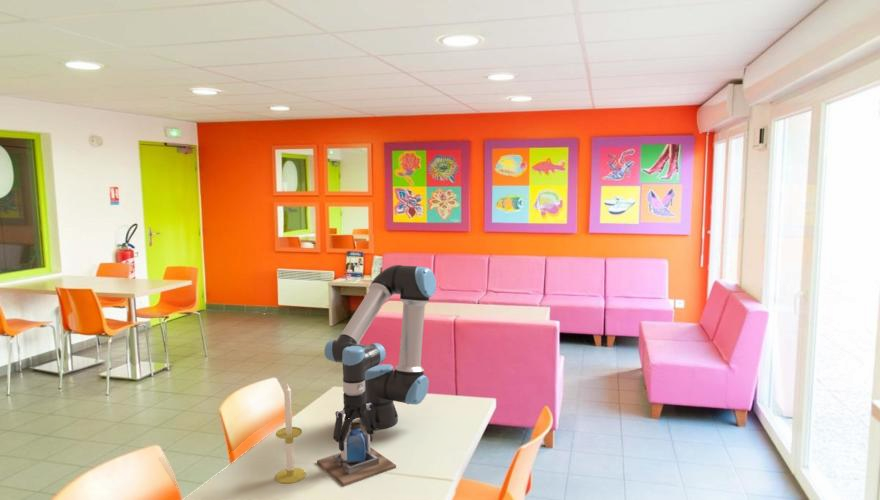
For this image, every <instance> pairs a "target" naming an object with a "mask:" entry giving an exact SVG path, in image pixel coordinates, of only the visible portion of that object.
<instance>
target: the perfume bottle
mask: <svg viewBox="0 0 880 500" xmlns="http://www.w3.org/2000/svg"><path fill="white" fill-rule="evenodd" d="M349 429H350V431H348V432H349V433H347V434H348V435H346V442H347V462H357V461H365V435H364V432H363V431H362V430H361V429H362V427H361V422H356V421H355V422H352V423H351V424H350V427H349Z"/></svg>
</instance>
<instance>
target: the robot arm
mask: <svg viewBox="0 0 880 500" xmlns="http://www.w3.org/2000/svg"><path fill="white" fill-rule="evenodd" d="M436 290H437V280H436V277H435V274H434V272H433V270H431V268H429V267H424V266H416V265H415V266H414V265H402V264H397V265H391V266H389V267H387V268H385V269H384V270H382V271H381V272H380V273H378V274H377V275H376V276H375V277H374V279H373V280H372V281H371V283H370V284H369V286H368V292H367V293H366V295H365V296H364V298H363V300H362V301H361V302H360V304H359V305H358V307H357V309H356V310H355V312H354V313H353V315H352V316H351V318H350V320H349V321H348V323H347V324H346V326H345V327H344V329H343V330H342V332H341V333H340V335H339V337H337V339H331V340H329V341H328V342H327V343H326V344H325V345H324V346H325V347H324V351H323V352H324V356H325V358H326V359H327V360H328V361H331V362H334V363H342V386H343V387H342V390H343V395H342V396H343V409H342V410H341V411H338V410H337V411H335V423H334V431H333V437H332V439H333V440H334V441H335V442H336V443H338V449H339V451H340V453H341V458H342V459H344V460H347V440H346V439H347V436H348V435H347V434H348V432H349V429H350V428H351V423H353V421H354V420H356V419H360V425H362V426H363V427H364V430H365V432H363V433H364V435H365V451H367V452H368V453H370V447H371V443H372V441H373V434H374V433H375V432H374V431H377V430H379V429H380V430H381V429H387V428H391V427H393V426H396V424H398V421H399V416H398V412H397V409H396V406H395V404H394V402H398V403H403V404H406V405H416V406H417V405H419V404H421V403H422V402H423V400H425V398H426V396H427V394H428V391H429V387H430V386H429V385H430V381H429V378H428V376H426V375H424V374H425V369H424V368H423V367H422V365H421V364H422V363H421V362H422V350H423V348H422V347H423V335H424V324H425V323H424V322H425V311H426V308H425V307H426V305H427V304H428V303H429V302H430V298H431V297H433V296H434V295H435V292H436ZM396 294H397V295H400V296H399V300H400V301H401V302H402V304H403V305H402V309H403V310H402V320H401V329H400V330H401V333H400V334H401V335H400V346H399V359H398V365H396V366H395V367H394V366H393V365H392V364H389V363H388V364H386V363H383V362H384V360H385V359H386V355H387V354H386V349H385V347H384V346H383V345H382V344H381V343H378V342H375V343H371V344H368V345H367V344H360V342H361V341H362V339H363V337H364V336H365V334H366V332H367V331H368V329H369V327H370V326H371V324H372V323H373V321H374V320H375V317H376V316H377V314H378V313H379V312H380V309H382V306H383V305H384V304H385V302H386V301H389V300H390V298H391V297H392V296H393V295H396ZM381 363H383V364H381ZM344 415H345V416H344ZM343 419H344V421H343Z"/></svg>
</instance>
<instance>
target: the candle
mask: <svg viewBox="0 0 880 500" xmlns="http://www.w3.org/2000/svg"><path fill="white" fill-rule="evenodd" d="M283 395H284V415H285V416H284V421H285V425H284V426H285V427H283V428H280V429H278V430H277V431H276V432H275V436H276V437H277V438H278V439H282V440H283V439H285V458H286V459H285V462H286V464H285V465H286V467H285V468H284V469H282V470H280V471H278V472H276V474H275V477H274V479H275V481H276V482H277V481H278V483H280V484H285V483H289V484H294V483H298V482H300V481H302V480H304V479H305V477H306V476H307V475H306V474H307V472H306V471H305V470H304V469H302V468H298V467H295V460H294V459H295V453H294V438H297V437H299V436H301V435H302V433H303V429H302V428H300V427H296V426H293V416H292V412H293V411H292V389H291V388H290V386H289V383H286V386H285V389H284V390H283Z"/></svg>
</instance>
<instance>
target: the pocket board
mask: <svg viewBox="0 0 880 500" xmlns="http://www.w3.org/2000/svg"><path fill="white" fill-rule="evenodd" d="M316 464H317V465H319V467H321V468H322V469H323V470H324V471H326V473H328V474H329V476H331V477H333V478H334V479H335V480H336V481H337V482H339V483H340V485H342V486H343V487H346V486H349V485H352V484H355V483H357V482H360V481H363V480H365V479H369V478H371V477H374V476H377V475H380V474H383V473H385V472H388V471H391V470H394V469H397V464H396V463H394V462H393V461H391V460H390V459H388V458H386V457H385V456H384V455H382V454H381V453H379V452H378V451H376V449H373V448H372V447H371V446H370V453H368V452H367V451H365V461H357V462H347V460H344V459H342V458H341V452H339V453H336V454H331V455H329V456H326V457H323V458H320V459H316Z"/></svg>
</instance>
